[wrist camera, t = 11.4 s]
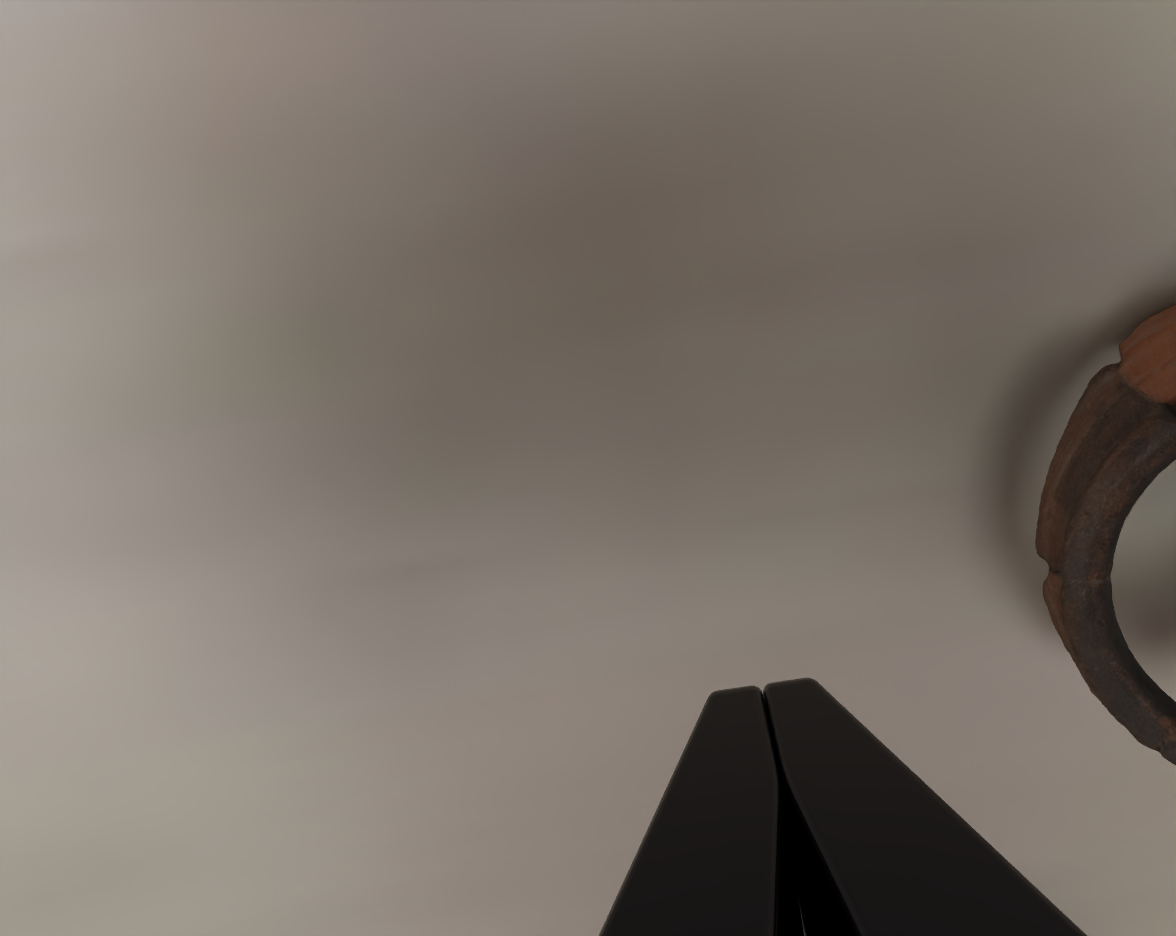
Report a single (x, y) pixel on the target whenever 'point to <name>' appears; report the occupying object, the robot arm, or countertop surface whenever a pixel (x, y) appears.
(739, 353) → the countertop surface
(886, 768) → the robot arm
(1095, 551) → the pottery mug
